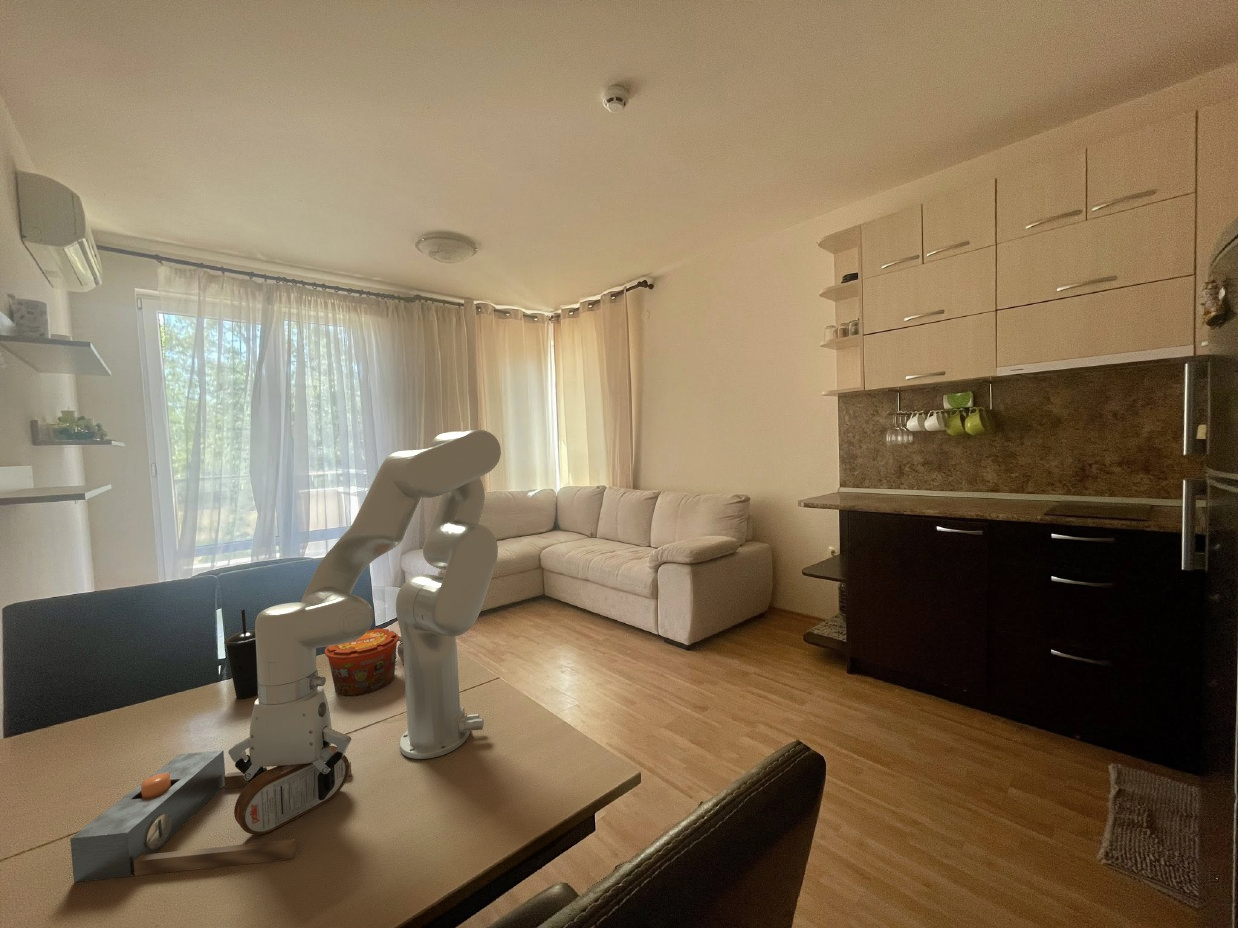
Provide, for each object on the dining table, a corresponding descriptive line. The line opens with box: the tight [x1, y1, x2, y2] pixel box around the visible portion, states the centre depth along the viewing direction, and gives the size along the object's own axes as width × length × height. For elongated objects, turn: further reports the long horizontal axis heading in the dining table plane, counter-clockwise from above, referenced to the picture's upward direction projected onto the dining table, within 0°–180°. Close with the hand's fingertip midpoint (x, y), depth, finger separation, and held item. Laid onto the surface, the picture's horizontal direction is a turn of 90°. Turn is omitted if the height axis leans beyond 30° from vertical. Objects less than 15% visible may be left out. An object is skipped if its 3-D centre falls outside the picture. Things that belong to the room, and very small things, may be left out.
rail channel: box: [134, 761, 352, 876], centre depth 76 cm, size 20×18×2 cm
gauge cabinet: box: [69, 749, 226, 883], centre depth 75 cm, size 7×18×6 cm, turn 5°
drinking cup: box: [223, 609, 258, 700], centre depth 116 cm, size 8×8×20 cm
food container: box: [324, 628, 400, 697], centre depth 119 cm, size 16×16×11 cm
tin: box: [233, 745, 350, 836], centre depth 76 cm, size 15×3×8 cm, turn 141°
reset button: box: [140, 773, 171, 798], centre depth 74 cm, size 3×3×3 cm
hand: (293, 796), depth 76 cm, fingers open, 9 cm apart
